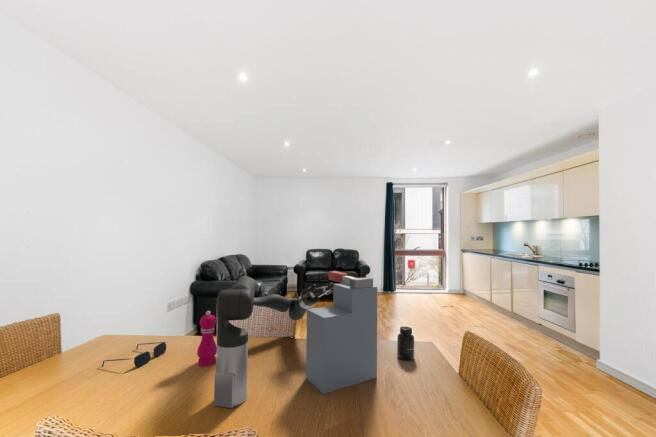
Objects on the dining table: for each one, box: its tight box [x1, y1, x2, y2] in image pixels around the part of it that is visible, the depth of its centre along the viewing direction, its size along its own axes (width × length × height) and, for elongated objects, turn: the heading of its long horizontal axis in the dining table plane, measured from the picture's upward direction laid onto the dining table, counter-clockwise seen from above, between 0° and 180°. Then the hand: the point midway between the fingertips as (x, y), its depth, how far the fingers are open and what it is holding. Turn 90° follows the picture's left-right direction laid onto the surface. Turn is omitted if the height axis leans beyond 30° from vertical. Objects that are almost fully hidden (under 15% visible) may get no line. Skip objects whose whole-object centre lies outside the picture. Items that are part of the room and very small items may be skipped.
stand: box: [305, 282, 378, 395], centre depth 108 cm, size 12×22×32 cm, turn 121°
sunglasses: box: [101, 341, 167, 369], centre depth 122 cm, size 17×15×5 cm
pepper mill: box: [196, 310, 217, 367], centre depth 119 cm, size 7×7×20 cm
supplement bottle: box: [396, 326, 415, 361], centre depth 126 cm, size 7×7×12 cm
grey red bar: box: [328, 270, 374, 289], centre depth 116 cm, size 22×8×3 cm, turn 31°
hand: (324, 285), depth 131 cm, fingers open, 8 cm apart
